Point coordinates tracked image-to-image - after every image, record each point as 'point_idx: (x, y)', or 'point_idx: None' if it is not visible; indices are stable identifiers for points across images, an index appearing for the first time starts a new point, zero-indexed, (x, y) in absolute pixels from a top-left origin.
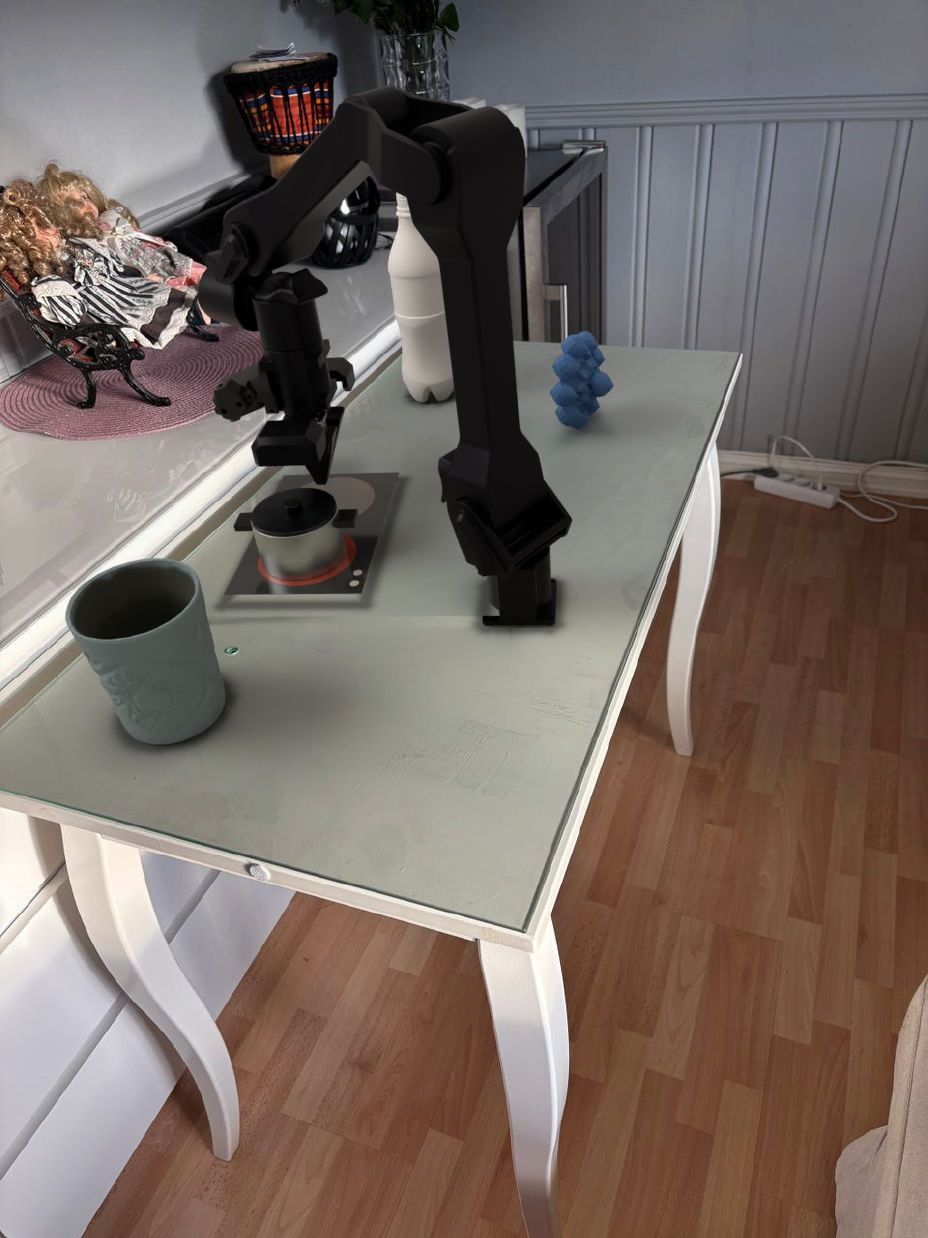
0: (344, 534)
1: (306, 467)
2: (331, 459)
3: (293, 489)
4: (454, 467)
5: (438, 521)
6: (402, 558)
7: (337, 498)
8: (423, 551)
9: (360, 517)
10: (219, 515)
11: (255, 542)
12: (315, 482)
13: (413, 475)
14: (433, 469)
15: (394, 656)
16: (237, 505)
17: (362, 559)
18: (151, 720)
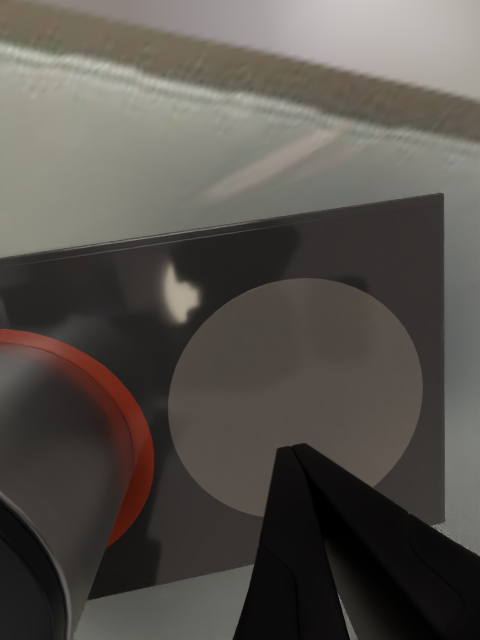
0: (138, 511)
1: (264, 514)
2: (342, 602)
3: (11, 565)
4: None
5: None
6: (118, 611)
7: (309, 426)
8: (153, 636)
9: (223, 517)
10: (228, 45)
11: (36, 281)
12: (276, 453)
13: (449, 516)
14: (473, 546)
15: None
16: (293, 88)
17: None
18: None
